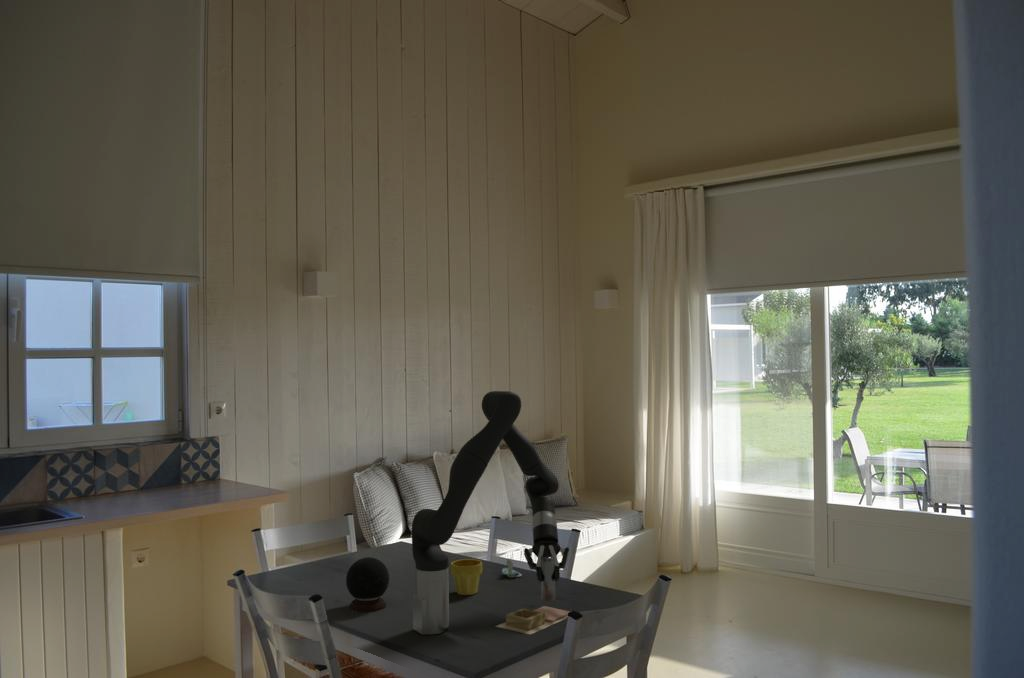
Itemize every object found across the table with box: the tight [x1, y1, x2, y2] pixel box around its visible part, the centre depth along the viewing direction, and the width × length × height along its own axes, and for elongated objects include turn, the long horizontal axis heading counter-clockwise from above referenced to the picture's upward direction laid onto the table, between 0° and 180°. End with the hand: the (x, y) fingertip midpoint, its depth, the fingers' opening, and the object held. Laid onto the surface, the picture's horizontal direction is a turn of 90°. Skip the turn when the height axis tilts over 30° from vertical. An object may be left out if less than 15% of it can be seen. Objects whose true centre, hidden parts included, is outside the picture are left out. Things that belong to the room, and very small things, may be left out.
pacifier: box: [501, 558, 523, 578], centre depth 284 cm, size 7×6×6 cm
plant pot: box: [450, 558, 483, 596], centre depth 263 cm, size 10×10×10 cm
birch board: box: [495, 605, 571, 635], centre depth 230 cm, size 23×12×4 cm, turn 142°
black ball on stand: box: [345, 556, 390, 613], centre depth 249 cm, size 13×13×15 cm
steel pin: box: [540, 556, 556, 602], centre depth 234 cm, size 4×4×12 cm
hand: (548, 580), depth 233 cm, fingers closed on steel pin, 4 cm apart
